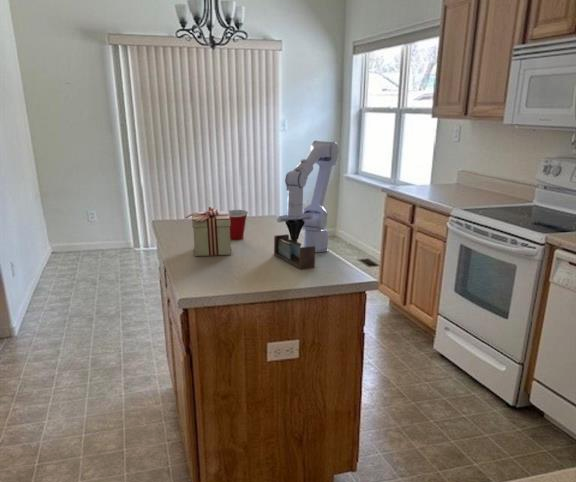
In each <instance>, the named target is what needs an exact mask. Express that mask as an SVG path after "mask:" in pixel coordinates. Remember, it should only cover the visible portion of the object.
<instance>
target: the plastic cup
mask: <svg viewBox="0 0 576 482" xmlns="http://www.w3.org/2000/svg"><path fill="white" fill-rule="evenodd" d="M227 211H228V212H229V215H230V240H233V241H240V240H243V239H244V235H245V230H246V229H245V228H246V223H247V222H246V221H247V217H248V214H249V211H247V210H244V209H230V210H227Z"/></svg>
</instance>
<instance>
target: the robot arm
mask: <svg viewBox="0 0 576 482" xmlns="http://www.w3.org/2000/svg"><path fill="white" fill-rule="evenodd" d="M339 152H340V151H339V144H338V143H337V141H323V140H322V141H321V140H313V142H311V145H310V151H309V153H308V155H307V157H306V158H302V159H301V160H300V161H299V162H298V163H297V165H296V166H295V167H294V168H293V169H292V170H290V171H288V172H287V173H286V175H285V179H284V183H285V187H286V191H287V214H284V215H277V216H276V222H277V223H283V222H285V226H286V228H287V230H288V234H289V239H292V240H295V234H296V235H297V240H299V237H300V234H301V231H302V229H303V230H304V232H303V233H304V234H303V235H304V237H303V247H309V246H315V253H322V252H329V249H328V245H329V243H328V242H329V233H328V231H327V229H326V227H327V224H328V212H327V210H326V209H325V208H324V203H325V199H326V194H327V191H328V187H329V182H330V178H331V173H332V169H333V167H334V166H336V163H337V161H338V156H339ZM315 164H316V165H317V166H318V172H317V175H316V181H315V183H314V184H315V185H314V189H313V192H312V197H311V201H310V204H308V205H307V206H305V207H304V188H305V187H306V184H307V181H308V179H309V178H308V177H309V176H310V175H311V173H312V172H313V171H314V165H315Z"/></svg>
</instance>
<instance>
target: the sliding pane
mask: <svg viewBox="0 0 576 482" xmlns="http://www.w3.org/2000/svg"><path fill="white" fill-rule="evenodd" d="M288 242H289V243H291V256H293V257H295V258H297V259H299V258H300V248H301V246H302V243H301V242H298V239H297V235H296V234H295V240H292V239H291V238H289V239H288Z"/></svg>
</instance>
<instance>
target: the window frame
mask: <svg viewBox="0 0 576 482" xmlns="http://www.w3.org/2000/svg"><path fill="white" fill-rule="evenodd" d="M273 238H274V239H273V241H274V242H273V256H275V257H277V258H279V259H281V260H282V261H284V262H286V263H288V264H290V265H292V266H294V267H296V268H297V269H299V270H306V269H313V268H315V265H316V252H315V246H309V247H304V246H302V247H301V248H300V258H299V259H297V258H295V257H293V256H291V243H289V242H288V239H290V234H289V233H287V234H277V235H274V236H273Z"/></svg>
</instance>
